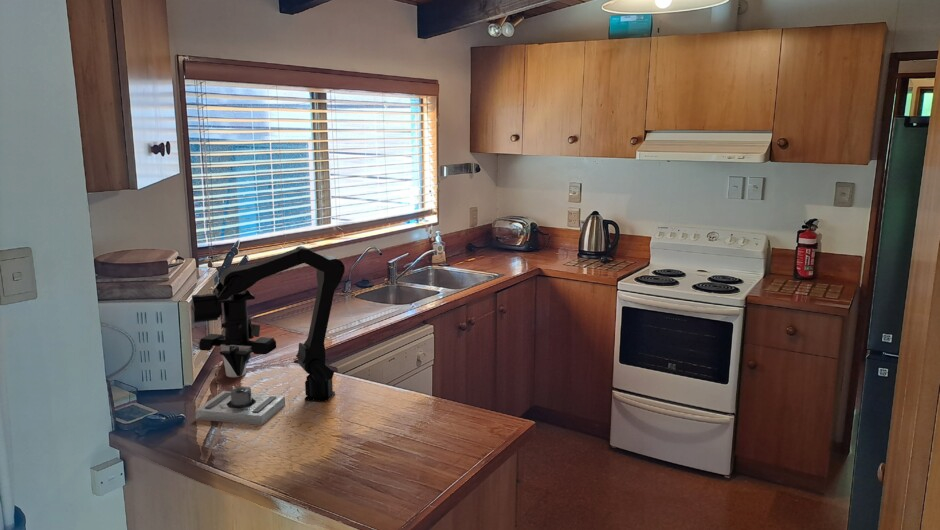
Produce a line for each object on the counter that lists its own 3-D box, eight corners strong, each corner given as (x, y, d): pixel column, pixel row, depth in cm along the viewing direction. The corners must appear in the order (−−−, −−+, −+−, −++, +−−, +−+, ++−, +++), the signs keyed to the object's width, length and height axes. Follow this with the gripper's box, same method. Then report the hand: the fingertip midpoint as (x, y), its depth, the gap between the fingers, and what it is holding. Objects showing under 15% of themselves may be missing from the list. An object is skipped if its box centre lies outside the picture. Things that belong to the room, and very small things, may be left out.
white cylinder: (223, 379, 200) (221, 356, 198) (224, 371, 206) (223, 349, 205) (247, 376, 202) (246, 354, 200) (248, 369, 208) (247, 347, 207)
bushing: (255, 409, 179) (254, 387, 177) (246, 416, 174) (244, 394, 173) (238, 407, 179) (236, 385, 178) (228, 415, 175) (226, 393, 173)
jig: (285, 404, 181) (284, 395, 181) (261, 425, 169) (261, 414, 168) (223, 399, 184) (222, 390, 184) (196, 419, 172) (195, 408, 171)
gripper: (284, 311, 178) (287, 367, 181) (219, 307, 181) (223, 363, 184) (264, 322, 167) (267, 382, 170) (195, 318, 170) (199, 377, 173)
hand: (239, 375), depth 175 cm, fingers closed
